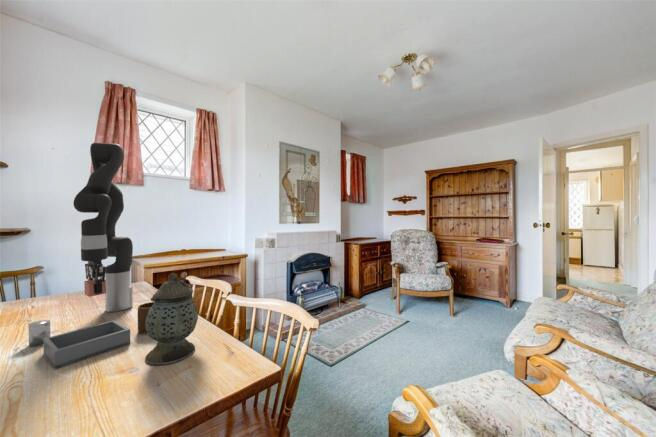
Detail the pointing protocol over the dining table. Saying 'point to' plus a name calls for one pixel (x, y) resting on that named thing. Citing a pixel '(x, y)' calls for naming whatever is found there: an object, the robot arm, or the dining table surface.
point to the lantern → (171, 322)
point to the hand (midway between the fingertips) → (95, 291)
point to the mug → (143, 316)
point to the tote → (85, 343)
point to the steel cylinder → (38, 332)
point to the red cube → (90, 288)
